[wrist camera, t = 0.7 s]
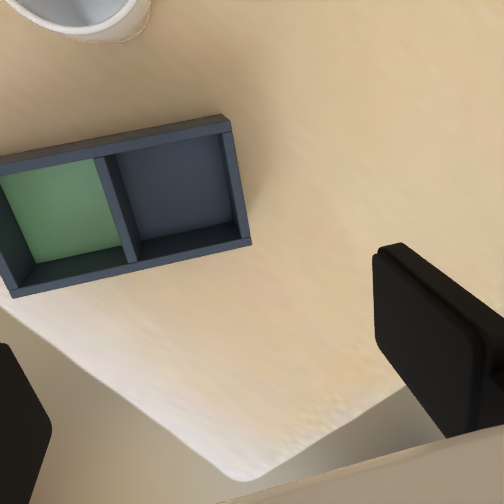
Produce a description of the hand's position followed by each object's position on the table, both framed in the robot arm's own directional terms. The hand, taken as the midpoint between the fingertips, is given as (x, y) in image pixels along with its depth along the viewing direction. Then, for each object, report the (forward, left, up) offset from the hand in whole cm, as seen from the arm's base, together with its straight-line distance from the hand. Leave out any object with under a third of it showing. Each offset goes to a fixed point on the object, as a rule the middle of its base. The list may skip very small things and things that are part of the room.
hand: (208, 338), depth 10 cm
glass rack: (+2, -6, -26) cm, 27 cm away
